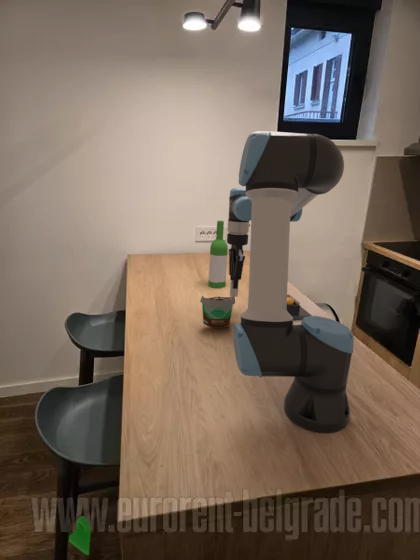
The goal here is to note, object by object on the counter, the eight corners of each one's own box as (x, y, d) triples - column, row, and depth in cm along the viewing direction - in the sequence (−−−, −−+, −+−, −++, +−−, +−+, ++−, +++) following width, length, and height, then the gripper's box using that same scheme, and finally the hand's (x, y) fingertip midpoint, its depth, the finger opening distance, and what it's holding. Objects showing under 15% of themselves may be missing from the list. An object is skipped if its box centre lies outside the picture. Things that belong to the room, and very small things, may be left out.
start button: (295, 308, 139) (296, 300, 138) (283, 308, 138) (284, 300, 137) (290, 304, 143) (291, 296, 143) (279, 304, 142) (280, 296, 142)
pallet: (311, 319, 141) (313, 305, 139) (267, 320, 137) (269, 306, 135) (288, 300, 160) (289, 287, 159) (249, 301, 156) (250, 288, 155)
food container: (203, 330, 126) (204, 302, 123) (199, 323, 132) (200, 295, 129) (238, 328, 129) (240, 300, 126) (232, 321, 135) (234, 294, 132)
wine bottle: (228, 289, 170) (232, 222, 162) (211, 290, 167) (215, 222, 159) (221, 284, 177) (225, 219, 169) (205, 285, 174) (208, 219, 166)
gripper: (253, 236, 130) (248, 301, 137) (242, 230, 142) (238, 290, 149) (232, 235, 129) (228, 302, 135) (223, 230, 141) (219, 291, 147)
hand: (233, 296), depth 142 cm, fingers closed
